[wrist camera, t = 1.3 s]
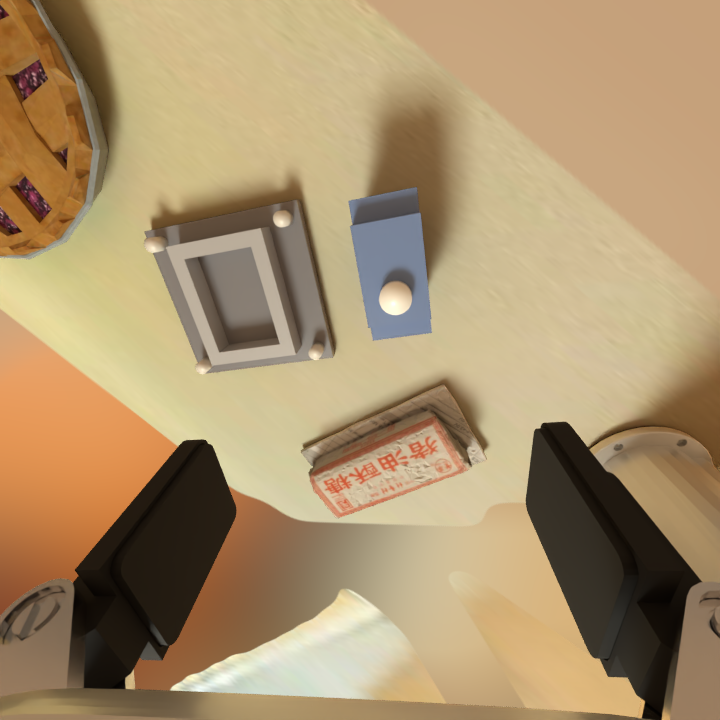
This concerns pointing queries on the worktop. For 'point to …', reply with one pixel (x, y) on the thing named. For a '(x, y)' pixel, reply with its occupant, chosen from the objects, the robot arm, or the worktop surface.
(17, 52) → the pie
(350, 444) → the packaged product
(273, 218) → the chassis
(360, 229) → the block
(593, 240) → the worktop surface
